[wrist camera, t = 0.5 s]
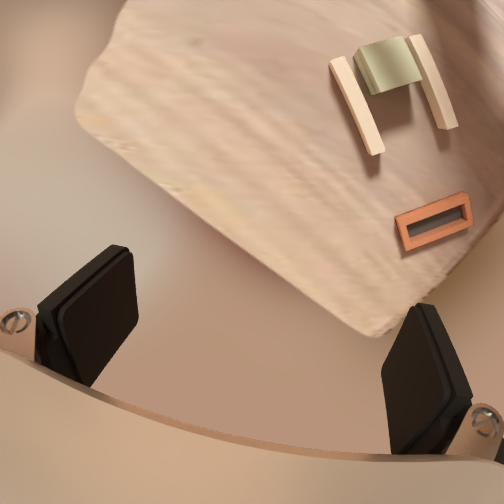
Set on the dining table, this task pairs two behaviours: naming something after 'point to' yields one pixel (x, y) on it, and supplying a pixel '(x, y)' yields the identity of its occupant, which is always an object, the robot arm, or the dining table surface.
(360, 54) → the sage block
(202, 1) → the dining table surface
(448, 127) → the walled channel
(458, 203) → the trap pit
